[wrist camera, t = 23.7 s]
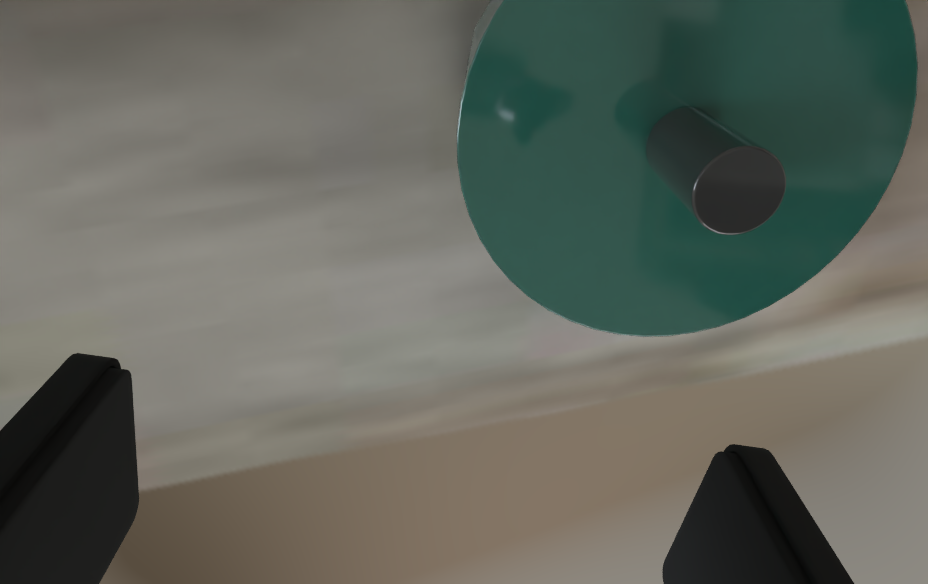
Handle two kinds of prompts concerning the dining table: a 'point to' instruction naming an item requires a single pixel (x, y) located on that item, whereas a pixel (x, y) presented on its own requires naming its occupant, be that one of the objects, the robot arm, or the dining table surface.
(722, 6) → the pot lid
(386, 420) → the dining table surface
